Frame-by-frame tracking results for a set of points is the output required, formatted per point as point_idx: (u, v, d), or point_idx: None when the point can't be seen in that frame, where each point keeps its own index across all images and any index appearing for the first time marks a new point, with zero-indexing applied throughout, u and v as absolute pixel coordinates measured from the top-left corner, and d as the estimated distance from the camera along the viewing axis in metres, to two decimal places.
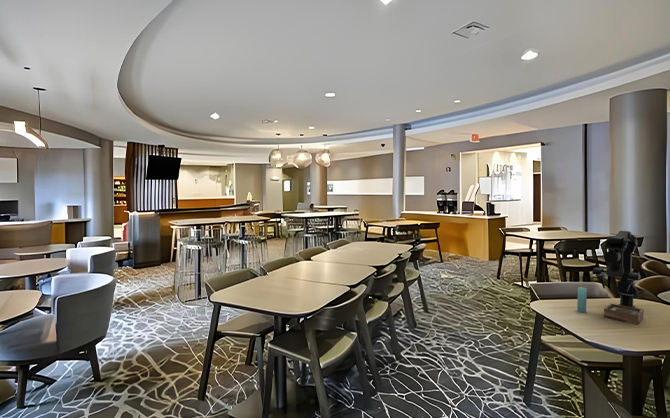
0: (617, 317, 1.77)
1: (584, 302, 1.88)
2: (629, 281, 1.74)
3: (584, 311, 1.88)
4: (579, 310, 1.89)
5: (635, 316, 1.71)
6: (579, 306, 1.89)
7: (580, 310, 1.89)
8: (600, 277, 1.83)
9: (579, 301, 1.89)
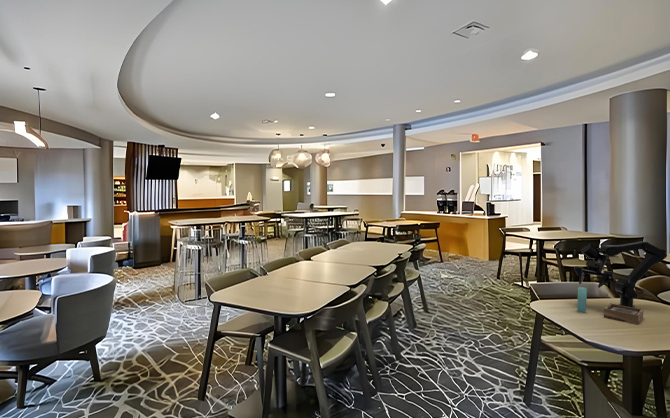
0: (617, 317, 1.77)
1: (584, 302, 1.88)
2: (604, 276, 1.89)
3: (584, 311, 1.88)
4: (579, 310, 1.89)
5: (635, 316, 1.71)
6: (579, 306, 1.89)
7: (580, 310, 1.89)
8: (579, 272, 1.99)
9: (579, 301, 1.89)
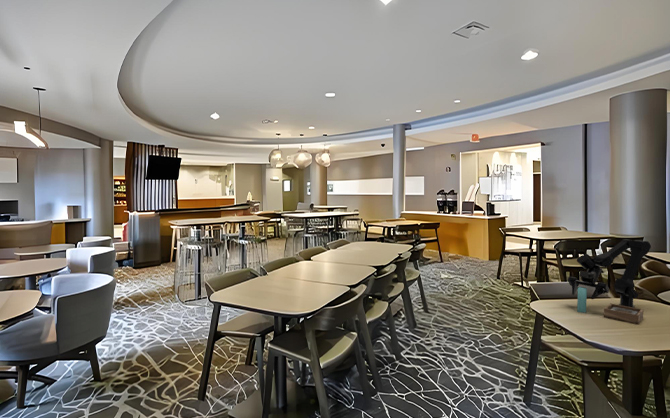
0: (617, 317, 1.77)
1: (584, 302, 1.88)
2: (597, 288, 1.86)
3: (584, 311, 1.88)
4: (579, 310, 1.89)
5: (635, 316, 1.71)
6: (579, 306, 1.89)
7: (580, 310, 1.89)
8: (573, 283, 1.96)
9: (579, 301, 1.89)
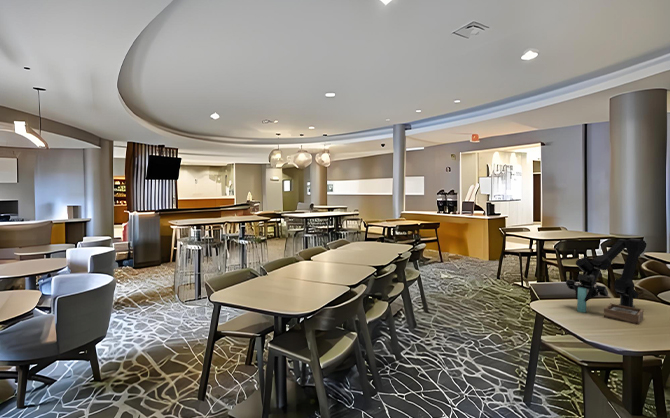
0: (617, 317, 1.77)
1: (584, 302, 1.88)
2: (590, 290, 1.87)
3: (584, 311, 1.88)
4: (579, 310, 1.89)
5: (635, 316, 1.71)
6: (579, 306, 1.89)
7: (580, 310, 1.89)
8: (576, 287, 1.93)
9: (579, 301, 1.89)
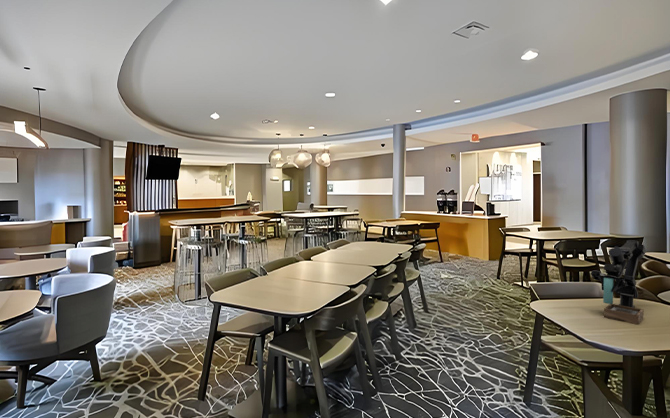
0: (617, 317, 1.77)
1: (611, 293, 1.81)
2: (617, 280, 1.81)
3: (611, 302, 1.82)
4: (605, 301, 1.83)
5: (635, 316, 1.71)
6: (605, 297, 1.83)
7: (606, 301, 1.82)
8: (602, 278, 1.87)
9: (605, 292, 1.83)
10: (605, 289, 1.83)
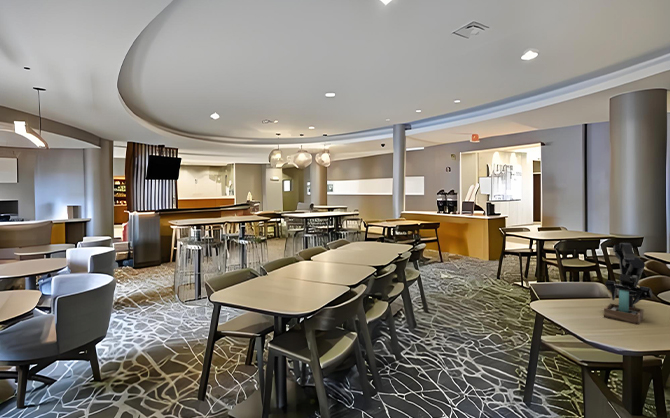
0: (617, 317, 1.77)
1: (626, 306, 1.78)
2: (639, 292, 1.75)
3: None
4: None
5: (635, 316, 1.71)
6: (621, 310, 1.79)
7: None
8: (612, 287, 1.85)
9: (621, 305, 1.79)
10: (621, 302, 1.79)
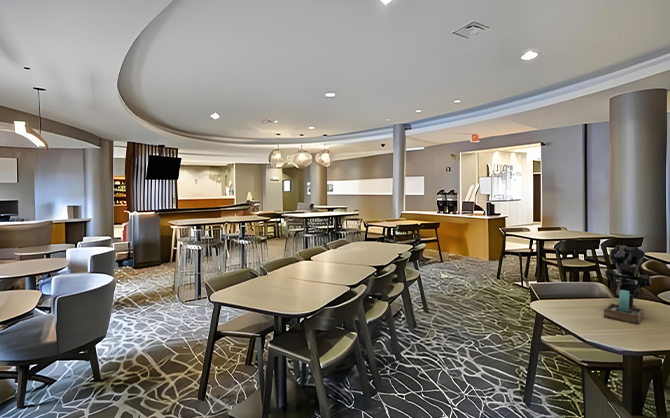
0: (617, 317, 1.77)
1: (627, 306, 1.78)
2: (639, 281, 1.79)
3: None
4: None
5: (635, 316, 1.71)
6: (621, 310, 1.79)
7: None
8: (611, 276, 1.89)
9: (621, 305, 1.79)
10: (621, 302, 1.79)
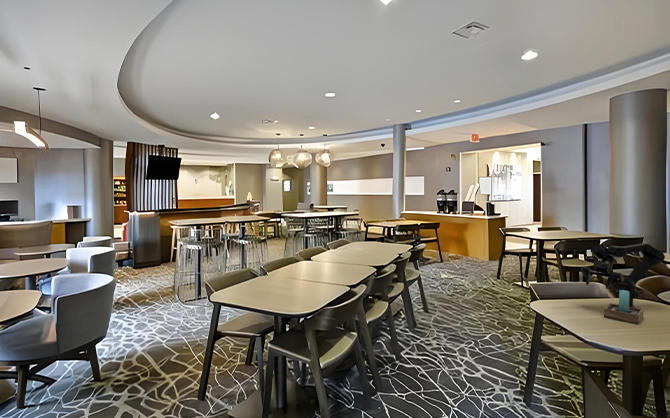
0: (617, 317, 1.77)
1: (626, 306, 1.78)
2: (611, 277, 1.86)
3: None
4: None
5: (635, 316, 1.71)
6: (621, 310, 1.79)
7: None
8: (586, 273, 1.96)
9: (621, 305, 1.79)
10: (621, 302, 1.79)
